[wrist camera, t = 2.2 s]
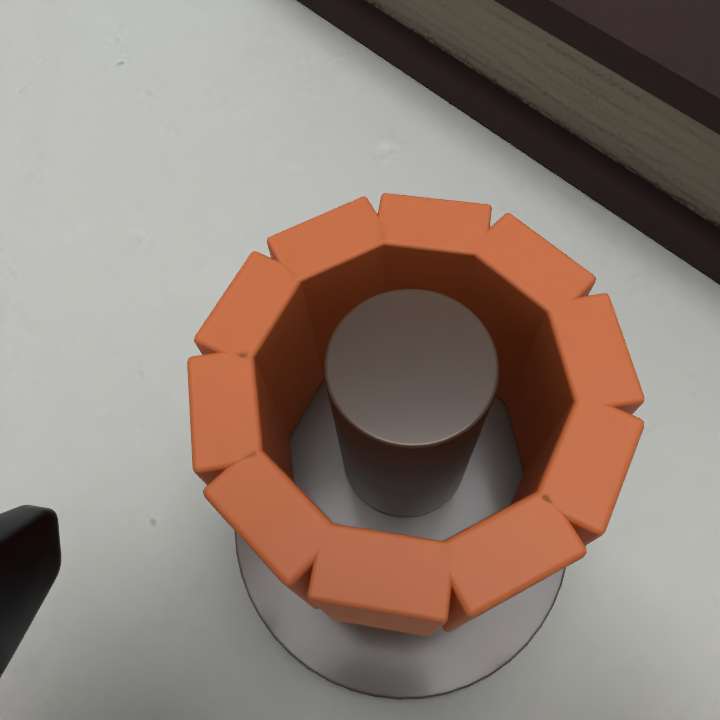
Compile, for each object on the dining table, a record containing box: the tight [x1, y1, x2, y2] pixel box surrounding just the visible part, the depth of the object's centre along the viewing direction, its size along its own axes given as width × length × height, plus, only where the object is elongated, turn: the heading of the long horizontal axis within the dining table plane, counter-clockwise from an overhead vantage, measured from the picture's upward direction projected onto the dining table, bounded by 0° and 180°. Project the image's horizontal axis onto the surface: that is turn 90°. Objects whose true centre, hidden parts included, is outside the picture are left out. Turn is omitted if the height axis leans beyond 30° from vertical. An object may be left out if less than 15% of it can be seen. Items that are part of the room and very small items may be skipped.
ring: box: [187, 193, 644, 636], centre depth 12 cm, size 6×7×4 cm
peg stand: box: [235, 289, 566, 699], centre depth 14 cm, size 9×9×11 cm
